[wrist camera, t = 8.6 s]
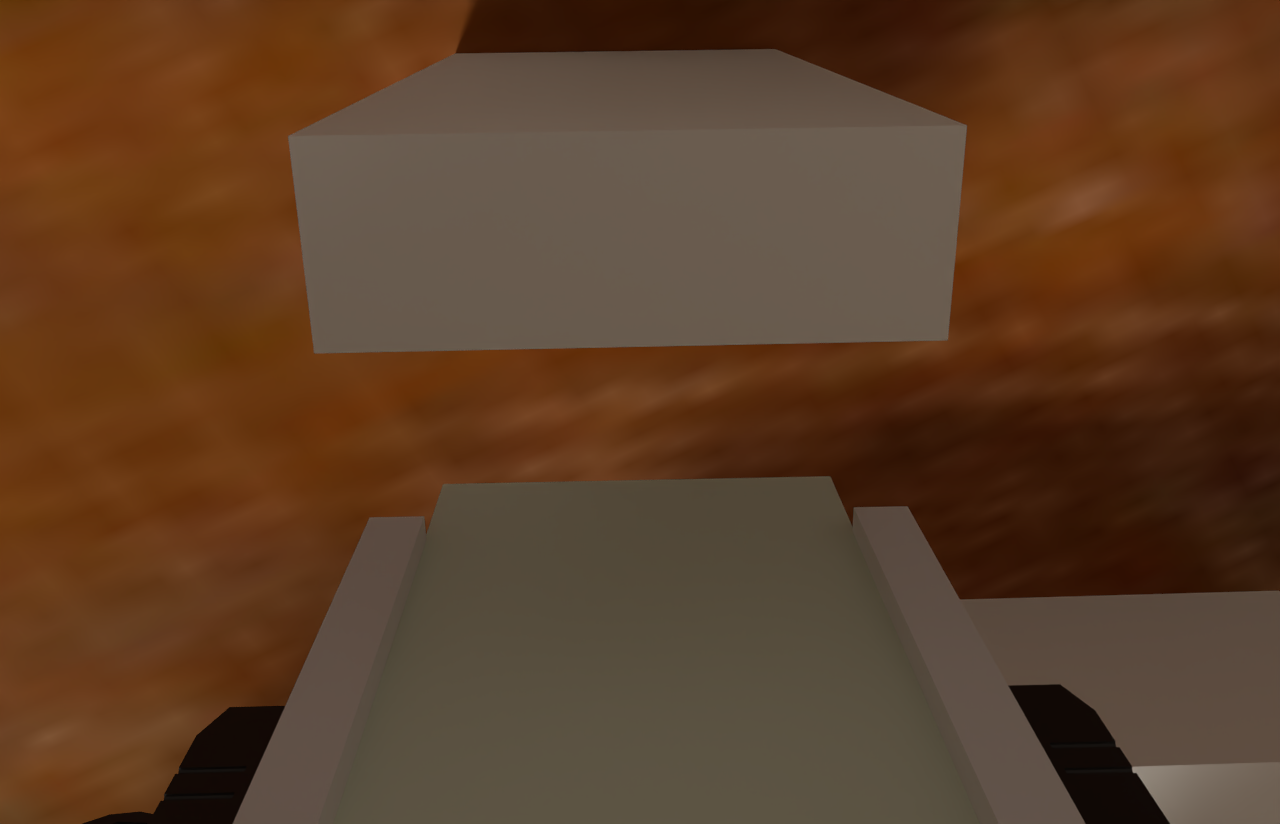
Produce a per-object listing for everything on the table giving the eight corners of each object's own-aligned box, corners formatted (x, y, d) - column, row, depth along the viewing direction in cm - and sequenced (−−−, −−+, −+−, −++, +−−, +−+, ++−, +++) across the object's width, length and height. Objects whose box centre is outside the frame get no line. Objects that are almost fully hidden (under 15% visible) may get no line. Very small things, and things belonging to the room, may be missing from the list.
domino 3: (752, 677, 26) (1259, 662, 27) (793, 866, 21) (1433, 844, 21) (754, 602, 26) (1275, 587, 26) (796, 777, 20) (1460, 756, 20)
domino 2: (824, 589, 18) (1162, 1556, 7) (452, 597, 18) (197, 1592, 7) (830, 476, 18) (1213, 1351, 6) (443, 483, 17) (141, 1388, 6)
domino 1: (772, 156, 22) (947, 339, 11) (462, 162, 22) (314, 352, 11) (775, 49, 21) (966, 125, 10) (455, 53, 21) (287, 136, 10)
